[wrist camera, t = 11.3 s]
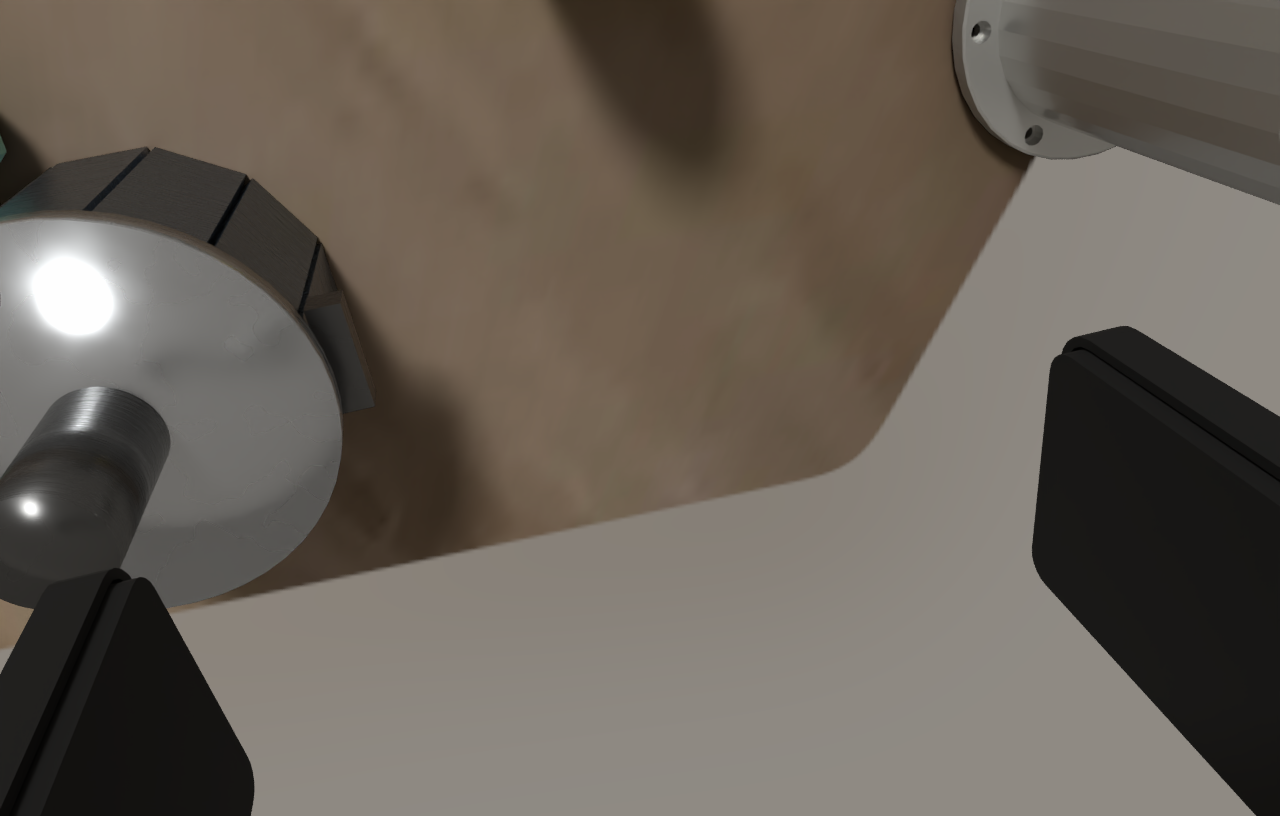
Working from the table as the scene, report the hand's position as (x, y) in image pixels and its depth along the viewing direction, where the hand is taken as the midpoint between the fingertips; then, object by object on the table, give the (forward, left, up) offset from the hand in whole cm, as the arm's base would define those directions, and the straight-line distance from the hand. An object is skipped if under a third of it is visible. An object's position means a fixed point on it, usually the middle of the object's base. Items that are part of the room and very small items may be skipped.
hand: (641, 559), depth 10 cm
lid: (+14, +7, -21) cm, 26 cm away
